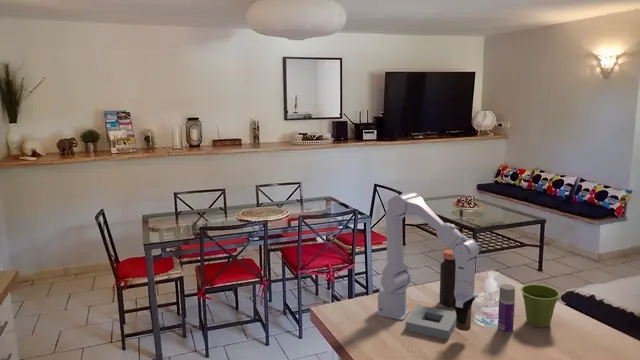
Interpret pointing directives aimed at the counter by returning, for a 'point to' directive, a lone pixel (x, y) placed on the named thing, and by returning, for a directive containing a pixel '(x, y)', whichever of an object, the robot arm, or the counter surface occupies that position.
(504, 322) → the container
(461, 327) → the peg
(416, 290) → the counter surface
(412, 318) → the socket block
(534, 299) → the plant pot
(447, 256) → the bottle
